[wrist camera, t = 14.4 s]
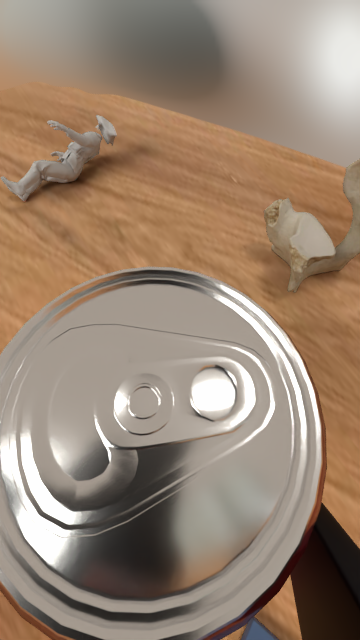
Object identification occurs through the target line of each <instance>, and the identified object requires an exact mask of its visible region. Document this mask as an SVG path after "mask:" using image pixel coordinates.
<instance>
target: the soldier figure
mask: <svg viewBox="0 0 360 640" xmlns="http://www.w3.org/2000/svg"><path fill="white" fill-rule="evenodd" d="M96 117H97V120H98V123H99V125H97V126H96V127H98V128H99V129H100V131H101V134H102V135H103V137H104V139H105V141H106V143H107V144H109V143H111V144H112V146H113V142H114V138H115V136H117V135H116V132H115V129H114V127H113V125H112V124H111V123H110V122H109V121H107V120H106V119H105V118H104V117H102V116H98V115H96ZM47 123H48V124H54V125H51V126H50V127H56V128H54V130H61V131H64V132H66V135H67V136H68V137H70V138H71V139H72V140H73V141H75V142H74V143H73V142H71V143H70V144H69V145H68V146H67V147H68V150H67V151H66V152H65V153H63V152H58V151H57V152H53V153H51V155H52V156H59V159H58V160H57V161H59V160H61V162H62V163H59V162H56V161H46V160H39V161H35V162H33V164H32V167H31V169H30V170H29V171H28V173H27V174H26V175H25V176H24V177H23V178H22V179H21V180H20V181H19V182H18V183H16V182H11V181H9V180H7V179H6V178H5V177H1V179H2V181H3V182H4V183H5V184H6V186H7V187H8V189H9V190H10V191H11V192H13V193H14V194H15V195H17V196H19V197H20V199H22V200H23V201H26V199H27V198H28V197H29V195H30V194H31V193H32V192H33V191H34V190H36V189H37V187H38V186H39V185H40V184H41V182H42V180H46V181H52V182H61V183H67V182H71V181H74V180H77V178H78V176H79V175H80V174H81V172H82V169H83V165H84V164H85V163H87V161H89V160H91V159H92V158H94V157H95V156H96V155H97V154H99V150H100V142H101V140H102V136H101V135H100V134H97V133H96V132H90V131H89V132H86V133H84V134H82V135H81V134H79V133H76V132H75V131H73V130H71V129H70V128H67V127H66V126H64V125H62V124H60V123H58V122H56V121H48V122H47ZM99 129H98V130H99Z"/></svg>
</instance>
